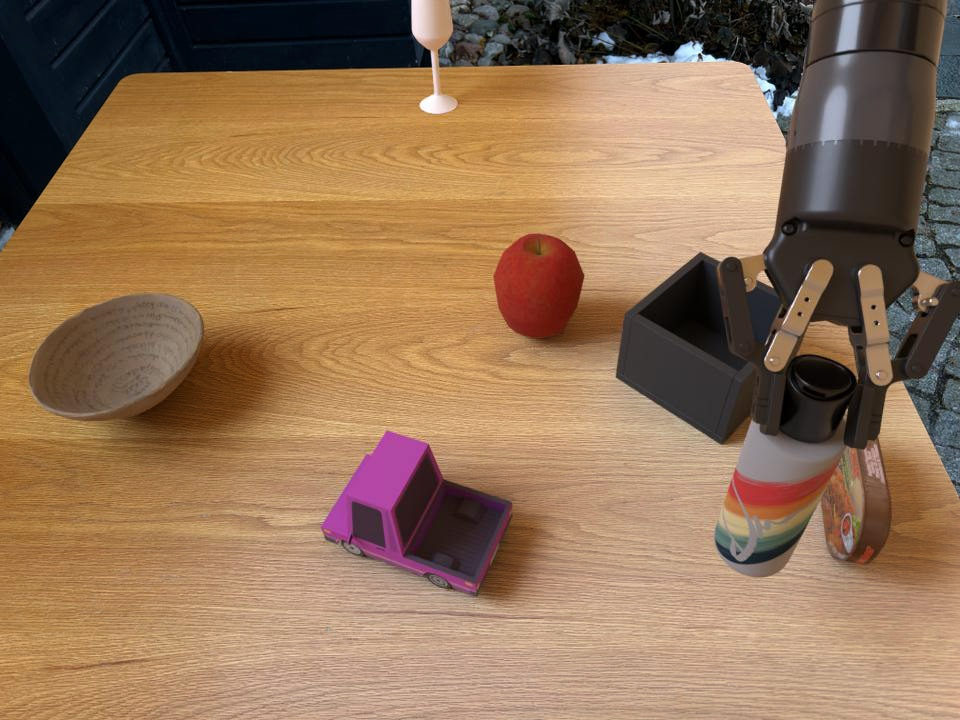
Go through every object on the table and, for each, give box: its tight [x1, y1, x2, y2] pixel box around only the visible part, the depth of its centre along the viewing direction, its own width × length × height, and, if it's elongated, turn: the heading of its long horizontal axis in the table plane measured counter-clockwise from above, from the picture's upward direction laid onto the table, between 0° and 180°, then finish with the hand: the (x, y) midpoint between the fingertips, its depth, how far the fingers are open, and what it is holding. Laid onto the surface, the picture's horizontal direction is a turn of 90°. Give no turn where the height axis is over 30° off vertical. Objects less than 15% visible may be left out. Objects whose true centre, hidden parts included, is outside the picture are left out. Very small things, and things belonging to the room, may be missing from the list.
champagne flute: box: [411, 0, 458, 115], centre depth 122 cm, size 7×7×24 cm
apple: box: [492, 232, 585, 339], centre depth 86 cm, size 10×10×14 cm
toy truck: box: [320, 430, 513, 598], centre depth 69 cm, size 11×16×10 cm
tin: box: [820, 413, 893, 565], centre depth 69 cm, size 15×3×8 cm, turn 168°
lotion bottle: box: [713, 353, 858, 579], centre depth 50 cm, size 6×6×20 cm
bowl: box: [27, 292, 205, 422], centre depth 83 cm, size 18×18×8 cm
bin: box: [615, 251, 811, 445], centre depth 81 cm, size 14×14×10 cm
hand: (811, 439), depth 44 cm, fingers closed on lotion bottle, 4 cm apart
